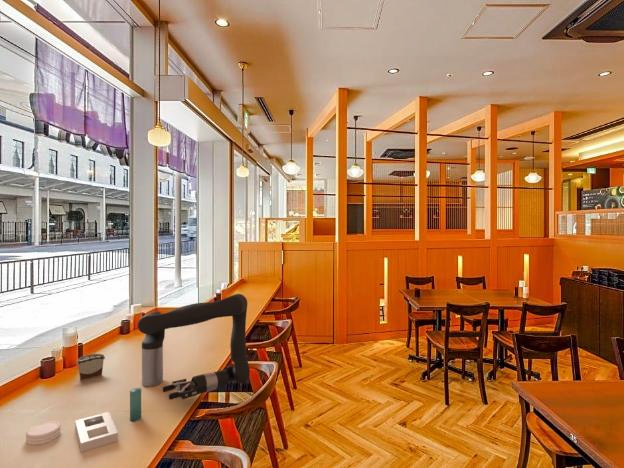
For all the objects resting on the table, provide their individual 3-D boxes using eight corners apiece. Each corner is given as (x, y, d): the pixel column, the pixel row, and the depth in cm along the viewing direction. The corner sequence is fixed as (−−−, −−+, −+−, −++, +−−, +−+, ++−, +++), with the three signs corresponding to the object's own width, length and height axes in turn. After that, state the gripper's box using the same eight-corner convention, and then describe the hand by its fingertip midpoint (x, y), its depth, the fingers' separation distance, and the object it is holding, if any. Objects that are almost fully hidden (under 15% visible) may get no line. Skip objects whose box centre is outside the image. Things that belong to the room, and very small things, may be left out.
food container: (101, 371, 194) (101, 351, 194) (105, 374, 190) (105, 354, 190) (73, 377, 186) (73, 357, 185) (76, 381, 181) (76, 360, 181)
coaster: (19, 442, 131) (19, 432, 131) (48, 428, 141) (48, 418, 141) (38, 448, 128) (38, 438, 128) (67, 433, 137) (67, 423, 137)
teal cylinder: (128, 417, 148) (128, 389, 148) (139, 414, 150) (139, 387, 150) (131, 422, 145) (131, 393, 144) (142, 419, 147) (142, 390, 147)
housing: (75, 428, 140) (75, 420, 140) (108, 419, 146) (108, 411, 146) (80, 452, 125) (80, 442, 125) (117, 441, 132) (117, 432, 132)
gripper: (198, 369, 169) (160, 378, 160) (210, 379, 158) (171, 390, 148) (198, 386, 169) (161, 396, 160) (211, 397, 158) (171, 409, 148)
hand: (165, 393), depth 154 cm, fingers open, 8 cm apart
